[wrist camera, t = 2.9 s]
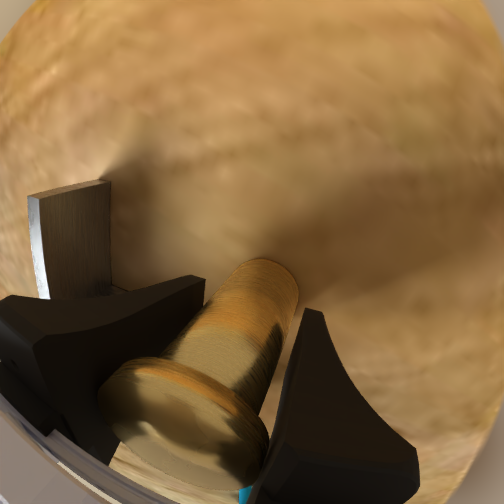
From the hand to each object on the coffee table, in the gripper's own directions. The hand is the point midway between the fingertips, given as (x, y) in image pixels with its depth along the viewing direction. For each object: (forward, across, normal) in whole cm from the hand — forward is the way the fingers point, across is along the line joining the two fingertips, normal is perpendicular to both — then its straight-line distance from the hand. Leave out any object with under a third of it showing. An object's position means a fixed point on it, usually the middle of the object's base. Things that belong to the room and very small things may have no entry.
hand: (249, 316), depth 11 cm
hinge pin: (+2, 0, 0) cm, 2 cm away
